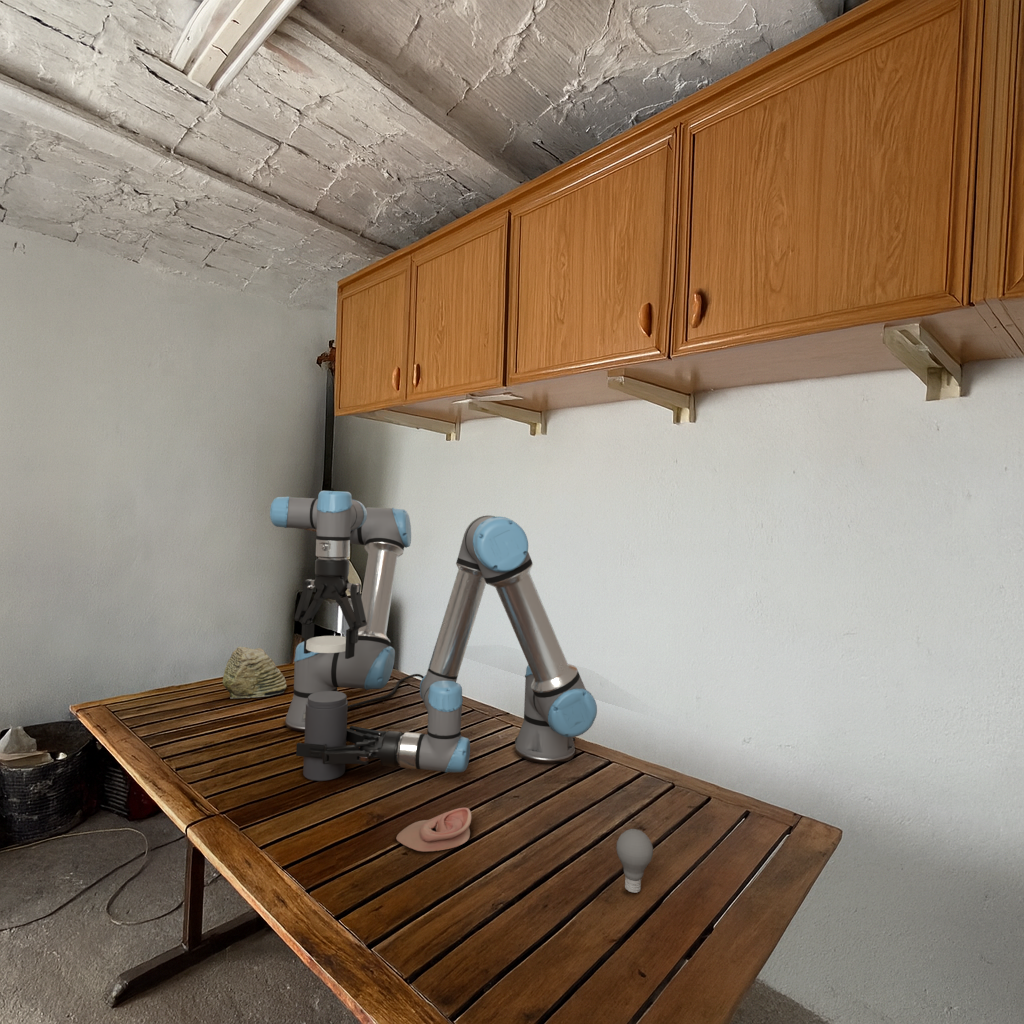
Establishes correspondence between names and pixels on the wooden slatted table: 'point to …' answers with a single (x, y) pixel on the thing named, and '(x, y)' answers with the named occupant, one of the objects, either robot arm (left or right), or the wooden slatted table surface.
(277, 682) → the fossil
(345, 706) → the jar
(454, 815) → the anatomical model
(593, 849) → the wooden slatted table surface
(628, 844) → the light bulb
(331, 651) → the lid
